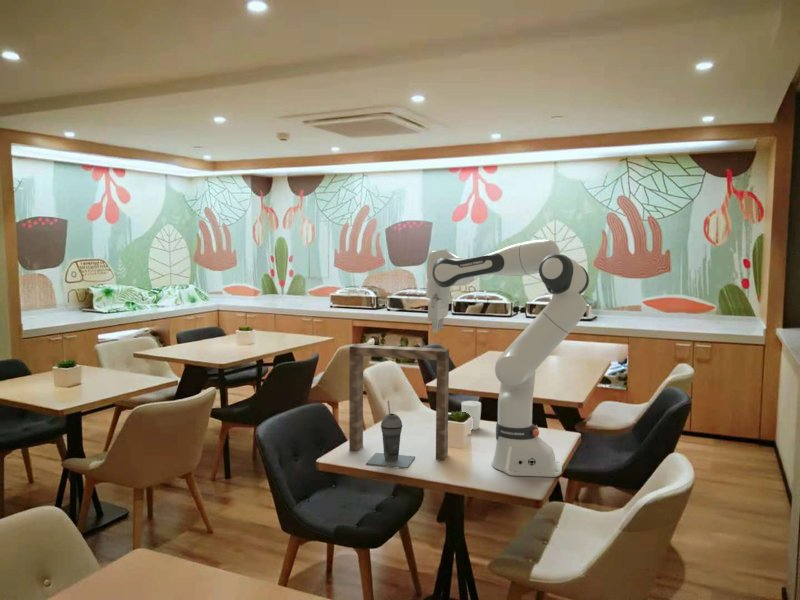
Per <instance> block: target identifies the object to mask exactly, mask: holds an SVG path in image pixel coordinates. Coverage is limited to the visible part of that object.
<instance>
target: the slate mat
mask: <svg viewBox="0 0 800 600" xmlns="http://www.w3.org/2000/svg"><path fill="white" fill-rule="evenodd" d="M414 458H415V459H416V456H414V455H404V454H399V456H398V461H395V462H387V461H385V457H384V452H375V453H374V454H373V455H372V456H371V458H369V459H368V461H366V462H365V465H367V466H374V465H380V466H379V467H384V466H389V467H388V468H394V467H399V468H398V469H404V468H408V469H409V467H410V466H411V464H412V463H413V462H414V460H415V459H414ZM412 461H413V462H412ZM409 465H410V466H409Z"/></svg>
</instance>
